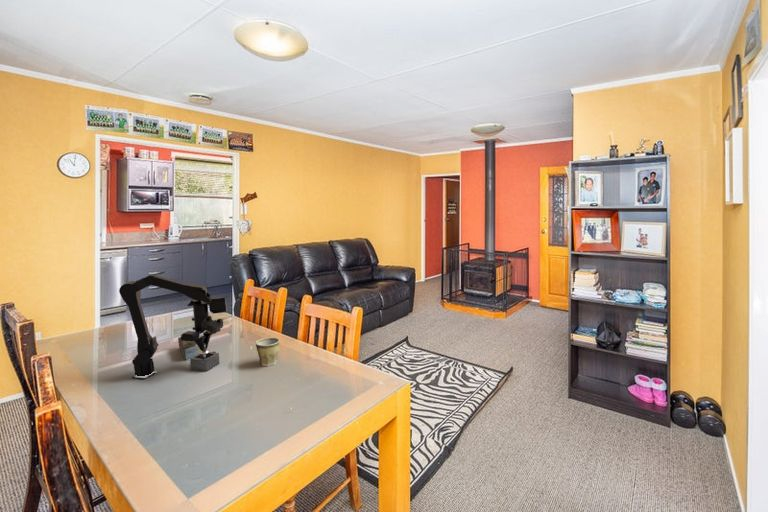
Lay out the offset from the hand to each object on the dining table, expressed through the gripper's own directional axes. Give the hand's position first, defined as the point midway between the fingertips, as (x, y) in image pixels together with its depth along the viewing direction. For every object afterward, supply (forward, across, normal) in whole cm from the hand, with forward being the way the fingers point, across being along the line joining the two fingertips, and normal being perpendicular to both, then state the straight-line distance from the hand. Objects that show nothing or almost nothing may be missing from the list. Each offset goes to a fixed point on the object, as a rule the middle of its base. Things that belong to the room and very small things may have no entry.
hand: (204, 349), depth 166 cm
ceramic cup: (+8, +11, -25) cm, 28 cm away
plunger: (+6, 0, 0) cm, 6 cm away
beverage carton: (+8, +13, +19) cm, 24 cm away
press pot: (+8, +1, 0) cm, 8 cm away
